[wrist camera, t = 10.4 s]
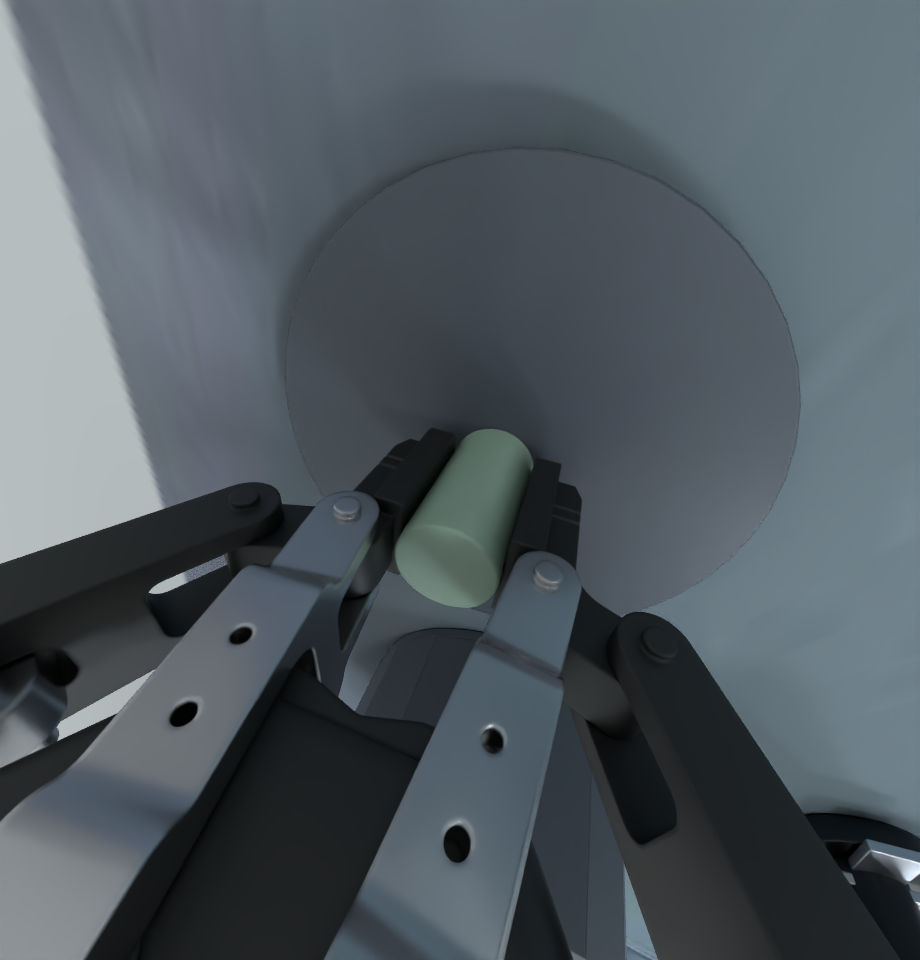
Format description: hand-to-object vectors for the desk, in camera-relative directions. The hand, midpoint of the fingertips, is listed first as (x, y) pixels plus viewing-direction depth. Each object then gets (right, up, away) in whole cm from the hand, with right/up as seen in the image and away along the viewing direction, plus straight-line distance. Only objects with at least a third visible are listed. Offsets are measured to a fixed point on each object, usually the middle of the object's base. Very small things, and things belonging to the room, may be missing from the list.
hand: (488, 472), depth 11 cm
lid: (0, +1, +1) cm, 1 cm away
